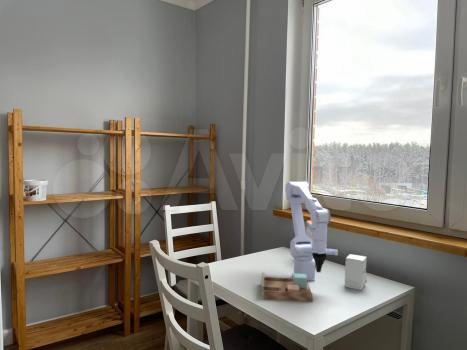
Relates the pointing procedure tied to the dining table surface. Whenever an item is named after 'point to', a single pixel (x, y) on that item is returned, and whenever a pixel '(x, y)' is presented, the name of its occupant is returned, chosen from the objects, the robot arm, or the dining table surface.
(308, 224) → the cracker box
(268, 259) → the dining table surface
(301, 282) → the teal block
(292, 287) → the clay block
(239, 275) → the dining table surface
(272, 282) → the brown wooden tray
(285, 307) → the dining table surface
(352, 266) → the supplement box
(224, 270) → the dining table surface
